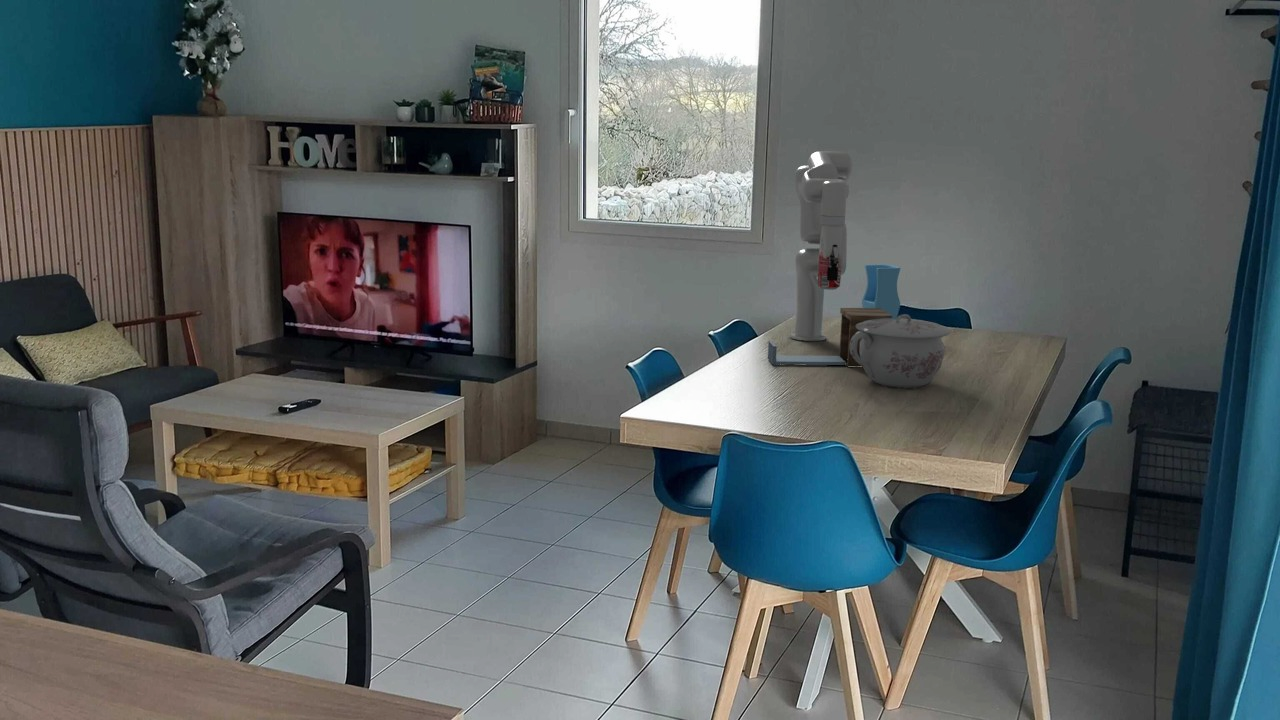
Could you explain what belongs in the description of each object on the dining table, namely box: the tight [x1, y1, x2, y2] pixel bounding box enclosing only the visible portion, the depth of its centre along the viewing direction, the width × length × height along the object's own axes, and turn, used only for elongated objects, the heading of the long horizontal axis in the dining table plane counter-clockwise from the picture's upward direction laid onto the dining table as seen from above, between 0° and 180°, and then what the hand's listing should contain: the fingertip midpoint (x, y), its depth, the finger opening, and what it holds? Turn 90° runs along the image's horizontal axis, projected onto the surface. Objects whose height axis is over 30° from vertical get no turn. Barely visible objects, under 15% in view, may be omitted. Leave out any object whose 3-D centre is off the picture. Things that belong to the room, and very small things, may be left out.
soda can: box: [817, 250, 842, 291], centre depth 357 cm, size 7×7×12 cm
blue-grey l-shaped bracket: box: [767, 340, 846, 366], centre depth 362 cm, size 9×23×6 cm, turn 93°
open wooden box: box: [838, 307, 892, 367], centre depth 362 cm, size 14×13×17 cm
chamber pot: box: [849, 313, 952, 389], centre depth 335 cm, size 28×28×21 cm
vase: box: [861, 263, 901, 318], centre depth 408 cm, size 10×10×25 cm
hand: (829, 278), depth 357 cm, fingers closed on soda can, 6 cm apart
